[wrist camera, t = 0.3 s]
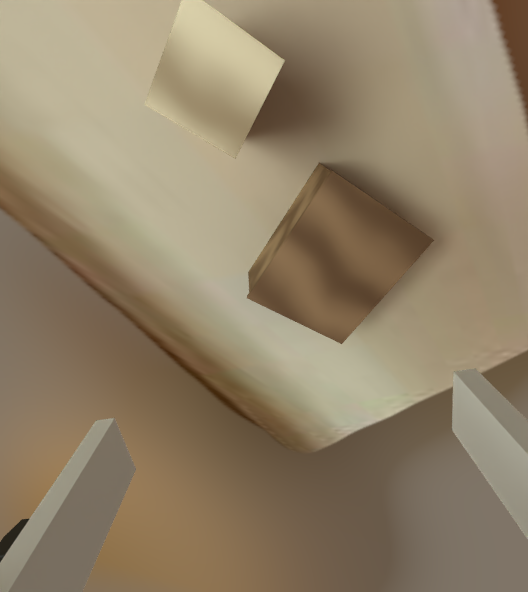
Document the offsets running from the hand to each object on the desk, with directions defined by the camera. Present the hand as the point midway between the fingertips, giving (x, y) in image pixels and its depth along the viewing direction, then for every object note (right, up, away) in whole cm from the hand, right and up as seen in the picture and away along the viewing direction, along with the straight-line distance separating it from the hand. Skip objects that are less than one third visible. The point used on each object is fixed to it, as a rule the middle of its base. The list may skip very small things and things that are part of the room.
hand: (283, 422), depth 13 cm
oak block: (-4, +23, +17) cm, 29 cm away
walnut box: (+6, +11, +25) cm, 28 cm away
